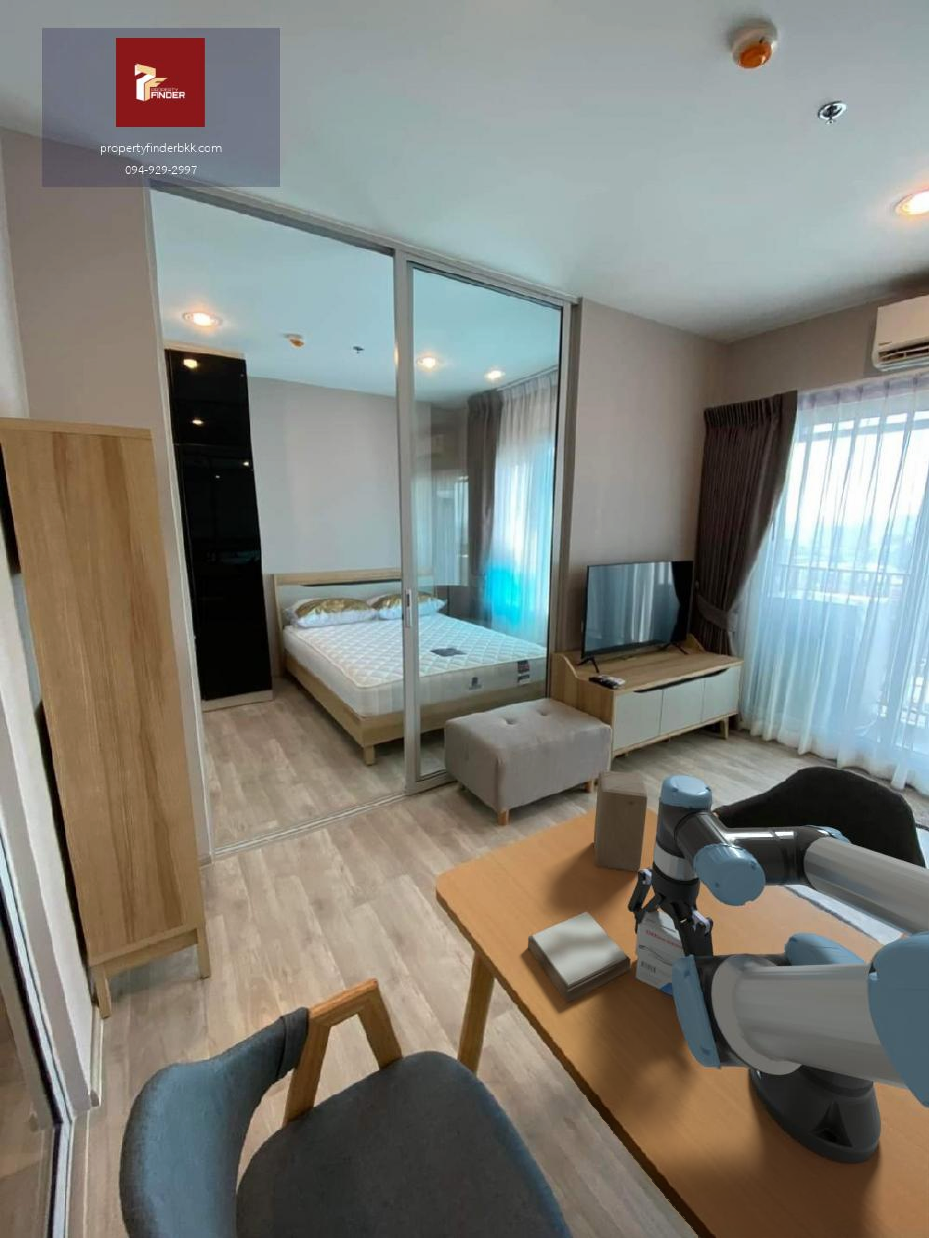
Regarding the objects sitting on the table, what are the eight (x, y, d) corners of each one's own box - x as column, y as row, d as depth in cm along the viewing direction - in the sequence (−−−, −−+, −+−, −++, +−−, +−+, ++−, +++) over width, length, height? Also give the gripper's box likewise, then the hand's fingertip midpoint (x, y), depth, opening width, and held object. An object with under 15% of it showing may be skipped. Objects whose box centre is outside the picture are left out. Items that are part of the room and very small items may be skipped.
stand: (629, 970, 89) (630, 956, 89) (567, 1003, 83) (568, 988, 83) (586, 921, 100) (586, 908, 99) (527, 947, 94) (528, 934, 93)
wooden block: (640, 874, 113) (648, 796, 108) (595, 867, 115) (601, 790, 110) (634, 845, 122) (642, 772, 118) (593, 840, 124) (598, 768, 120)
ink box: (690, 981, 87) (698, 925, 85) (686, 1004, 83) (694, 946, 81) (641, 957, 92) (647, 904, 89) (634, 978, 88) (640, 923, 85)
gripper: (754, 905, 74) (734, 1022, 79) (643, 822, 94) (633, 921, 99) (721, 922, 71) (702, 1044, 76) (613, 833, 90) (604, 934, 95)
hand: (663, 974), depth 87 cm, fingers closed on ink box, 9 cm apart
